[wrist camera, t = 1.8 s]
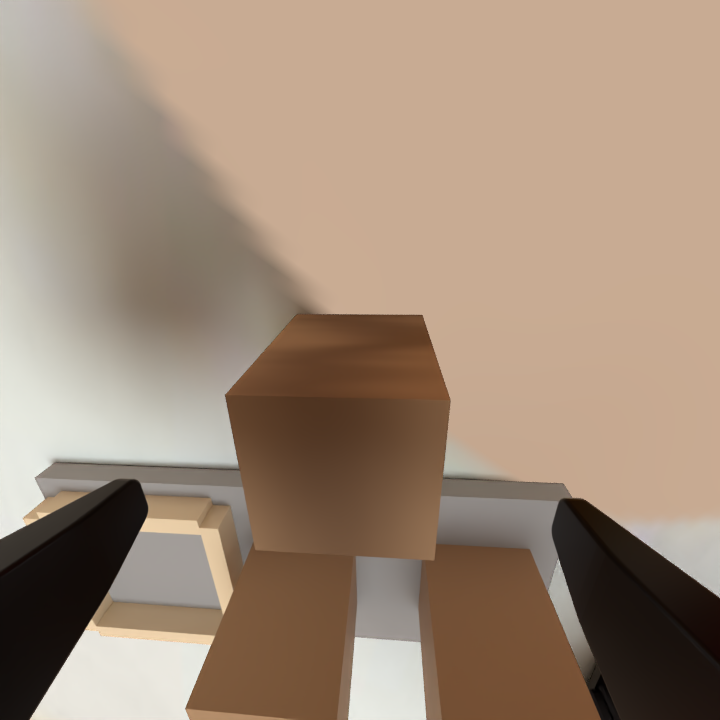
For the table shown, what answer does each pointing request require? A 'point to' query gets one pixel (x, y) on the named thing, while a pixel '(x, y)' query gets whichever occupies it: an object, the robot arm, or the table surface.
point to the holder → (341, 601)
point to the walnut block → (343, 437)
